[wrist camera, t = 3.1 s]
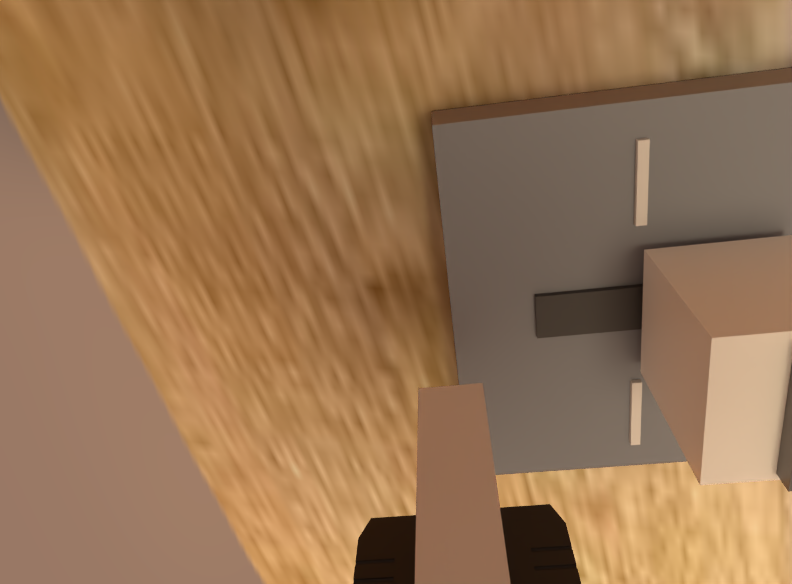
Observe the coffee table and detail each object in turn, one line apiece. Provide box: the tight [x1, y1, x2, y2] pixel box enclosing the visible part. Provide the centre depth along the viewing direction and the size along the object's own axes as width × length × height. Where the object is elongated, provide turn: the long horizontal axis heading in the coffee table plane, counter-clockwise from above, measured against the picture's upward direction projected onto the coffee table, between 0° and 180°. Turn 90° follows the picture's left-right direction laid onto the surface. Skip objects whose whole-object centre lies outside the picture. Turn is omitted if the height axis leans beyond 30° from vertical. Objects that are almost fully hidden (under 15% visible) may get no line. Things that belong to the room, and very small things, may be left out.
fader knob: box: [640, 235, 792, 491], centre depth 17 cm, size 4×4×6 cm
